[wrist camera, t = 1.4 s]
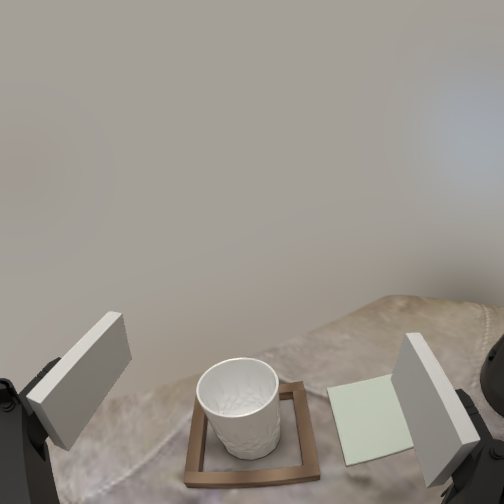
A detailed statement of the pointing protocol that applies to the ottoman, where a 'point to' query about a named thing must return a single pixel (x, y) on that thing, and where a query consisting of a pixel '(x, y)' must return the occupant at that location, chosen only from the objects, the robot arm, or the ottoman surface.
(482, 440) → the robot arm
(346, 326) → the ottoman surface
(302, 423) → the walnut collar
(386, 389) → the sage tile
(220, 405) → the white cup
